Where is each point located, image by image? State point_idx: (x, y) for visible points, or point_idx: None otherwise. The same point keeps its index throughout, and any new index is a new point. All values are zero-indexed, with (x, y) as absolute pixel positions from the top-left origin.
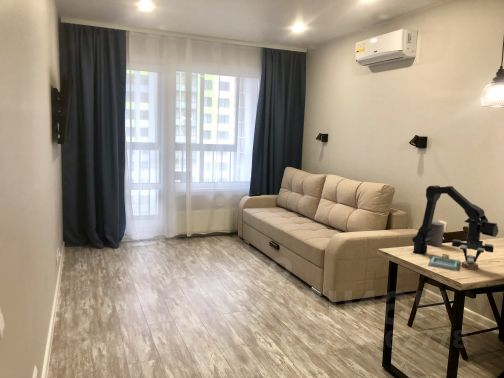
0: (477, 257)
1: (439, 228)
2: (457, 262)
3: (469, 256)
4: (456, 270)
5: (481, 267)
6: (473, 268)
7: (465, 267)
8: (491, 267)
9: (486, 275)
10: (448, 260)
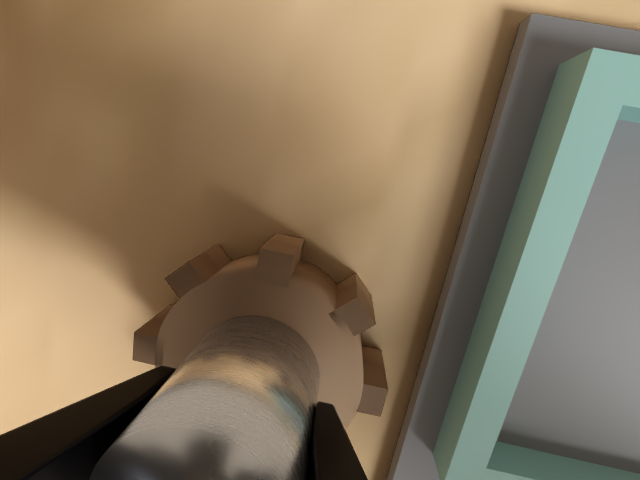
0: (16, 433)
1: None
2: (427, 462)
3: (241, 471)
4: (550, 24)
5: None
6: (228, 263)
7: (342, 283)
8: None
9: (68, 2)
10: (587, 475)
